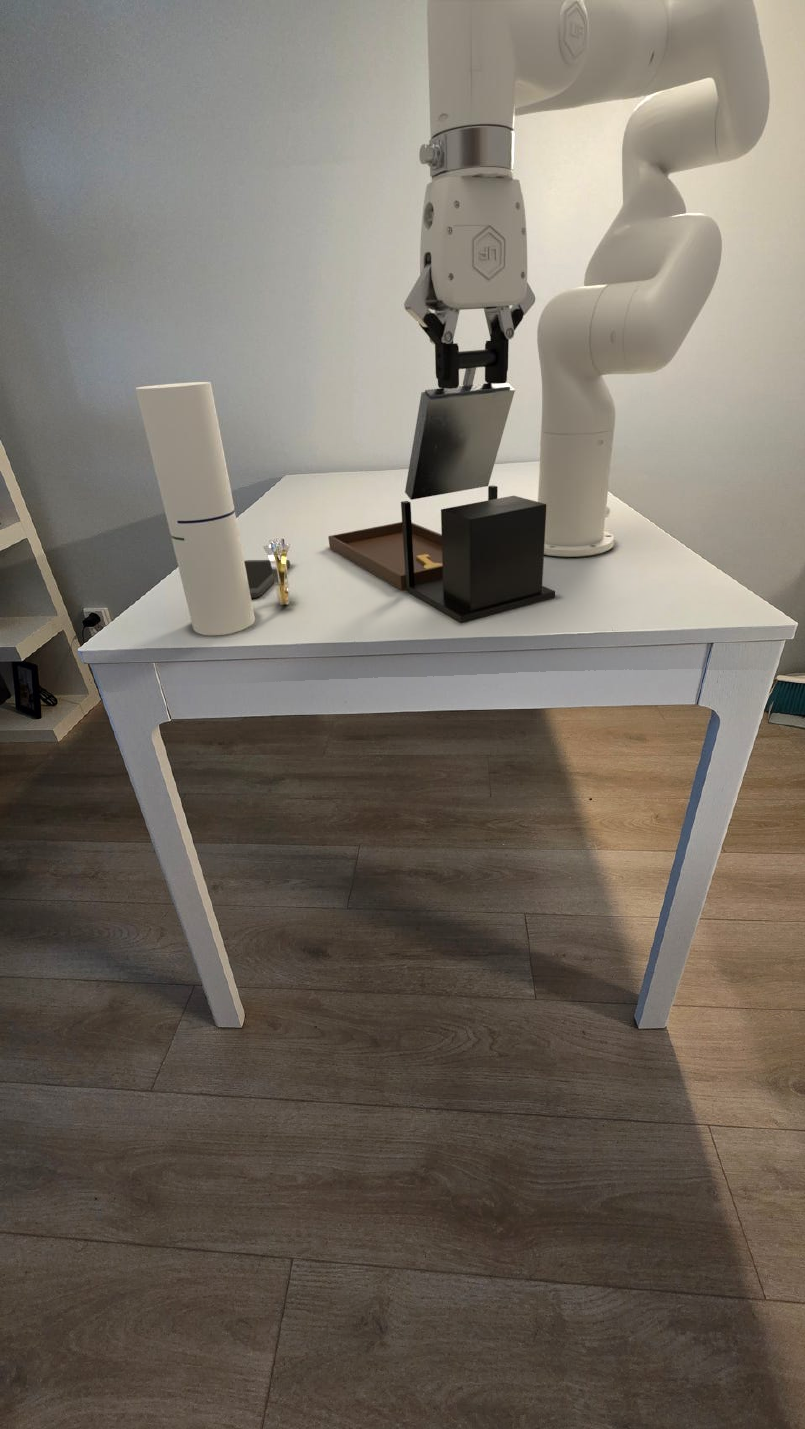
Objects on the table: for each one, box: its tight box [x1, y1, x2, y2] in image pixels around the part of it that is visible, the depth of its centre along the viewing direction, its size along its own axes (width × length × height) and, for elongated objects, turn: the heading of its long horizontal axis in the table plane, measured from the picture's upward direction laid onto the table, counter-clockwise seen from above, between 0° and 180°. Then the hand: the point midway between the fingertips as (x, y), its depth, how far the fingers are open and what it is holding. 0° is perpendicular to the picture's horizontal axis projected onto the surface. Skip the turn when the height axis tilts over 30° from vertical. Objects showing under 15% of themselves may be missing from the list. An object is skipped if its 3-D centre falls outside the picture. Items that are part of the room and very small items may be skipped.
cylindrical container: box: [135, 381, 256, 636], centre depth 69 cm, size 7×7×25 cm
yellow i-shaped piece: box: [416, 554, 442, 569], centre depth 89 cm, size 7×3×1 cm, turn 20°
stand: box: [400, 484, 556, 624], centre depth 76 cm, size 13×13×11 cm
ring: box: [262, 538, 290, 606], centre depth 78 cm, size 7×3×8 cm, turn 3°
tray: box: [327, 521, 443, 591], centre depth 93 cm, size 24×14×2 cm, turn 28°
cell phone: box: [244, 559, 291, 599], centre depth 88 cm, size 7×14×1 cm, turn 171°
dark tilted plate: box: [404, 348, 516, 501], centre depth 72 cm, size 16×11×2 cm
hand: (472, 383), depth 68 cm, fingers closed on dark tilted plate, 5 cm apart
